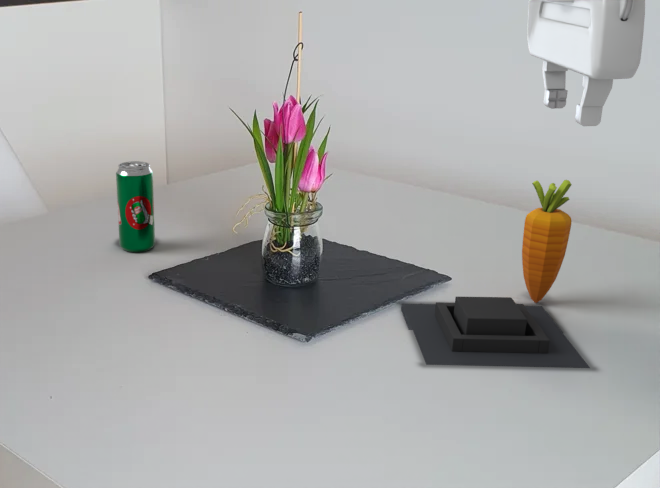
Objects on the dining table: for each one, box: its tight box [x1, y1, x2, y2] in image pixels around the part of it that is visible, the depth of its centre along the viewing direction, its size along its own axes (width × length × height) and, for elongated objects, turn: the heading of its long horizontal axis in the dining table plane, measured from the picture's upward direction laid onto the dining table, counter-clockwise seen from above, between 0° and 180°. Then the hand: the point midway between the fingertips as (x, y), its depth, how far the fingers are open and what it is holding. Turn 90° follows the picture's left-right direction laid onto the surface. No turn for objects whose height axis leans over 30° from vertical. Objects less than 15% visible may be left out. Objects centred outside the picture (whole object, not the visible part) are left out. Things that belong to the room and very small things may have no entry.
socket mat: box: [400, 302, 591, 369], centre depth 89 cm, size 16×16×2 cm
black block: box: [453, 296, 527, 336], centre depth 89 cm, size 6×6×3 cm
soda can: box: [115, 160, 156, 253], centre depth 117 cm, size 5×5×12 cm
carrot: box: [521, 179, 573, 304], centre depth 96 cm, size 5×5×15 cm
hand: (569, 115), depth 80 cm, fingers open, 8 cm apart
